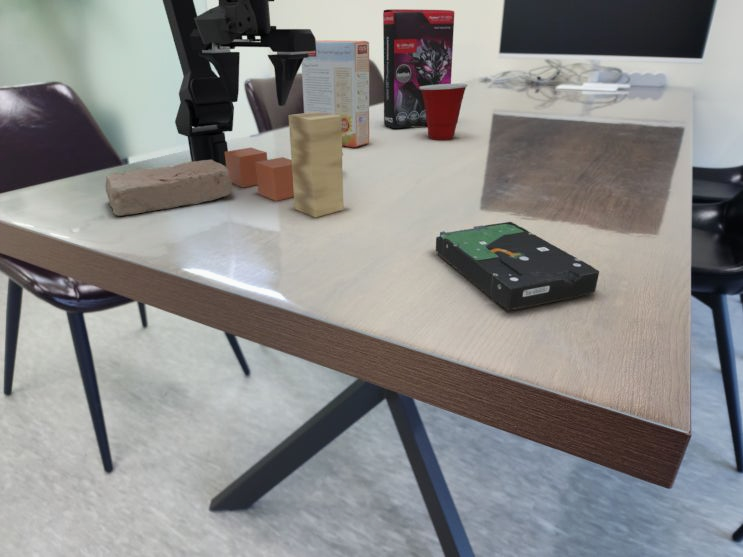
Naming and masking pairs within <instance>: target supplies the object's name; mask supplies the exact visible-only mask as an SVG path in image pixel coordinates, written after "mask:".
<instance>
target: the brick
mask: <svg viewBox="0 0 743 557" xmlns="http://www.w3.org/2000/svg"><path fill="white" fill-rule="evenodd" d="M104 185H105V192H106V196H107V198H108V203H109V207H110V208H111V209H112V213H113V214H114V215H115V216H119V217H120V216H122V217H123V216H129V215H136V214H139V213H146V212H153V211H160V210H168V209H169V210H170V209H173V208H178V207H180V206H189V205H191V206H192V205H198V204H202V203H206V202H210V201H214V200H218V199H221V198H223V197H227V196H229V195H230V194H232V190H233V187H232V186H233V183H231V177H230V176H229V170H228V169H227V168H226V167H225V166H224V165H222V164H220V163H217V162H215V161H213V160H202V161H195V162H191V161H189V162H183V163H180V164H176V165H173V166H165V167H164V166H163V167H154V168H143V169H133V170H129V171H122V172H118V173H110V174H107V175H106V176H105V183H104Z"/></svg>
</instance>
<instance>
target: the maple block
mask: <svg viewBox="0 0 743 557" xmlns="http://www.w3.org/2000/svg"><path fill="white" fill-rule="evenodd" d="M288 129H289V130H288V131H289V142H290V143H289V144H290V145H289V146H290V158H291V159H290V160H292V174H293V189H294V197H293V200H294V201H293V202H294V210H297V211H299V212H301V213H304V214H306V215H308V216H311V217H313V218H316V219H317V218H319V217H322V216H326V215H327V216H328V215H330V214H333V213H337V212H341V211H344V179H343V178H344V176H343V175H344V174H343V170H344V169H343V156H342V152H343V146H342V126H341V116H340V115H335V114H330V113H324V112H319V111H318V112H310V113H304V112H302V113H293V114H288Z"/></svg>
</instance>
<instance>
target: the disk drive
mask: <svg viewBox="0 0 743 557" xmlns="http://www.w3.org/2000/svg"><path fill="white" fill-rule="evenodd" d="M435 252H436V253H437V254H438V255H439V256H440V257H441V258H442V259H444V260H445V261H446V262H447V263H449V265H451V266H452V267H453V268H454V269H456V270H457V271H458V272H459V273H460V274H462V275H463V276H465V277H466V278H467V279H468V280H469V281H470V282H472V283H473V284H474V285H475V286H477V287H478V288H479V289H480V290H481V291H482V292H484V293H485V294H486V295H488V296H489V297H490V299H492V300H494V301H495V302H497V303H498V305H501V306H502V307H504V308H505V309H506V310H508V311H509V310H517V309H524V308H529V307H534V306H538V305H542V304H543V305H544V304H549V303H554V302H558V301H563V300H568V299H573V298H578V297H582V296H585V295H589V294H593V293H595V292H596V289H597V285H598V281H599V276H600V270H598V269H597V268H595V267H594V266H592V265H591V264H589V263H586V262H585V261H584V260H582V259H581V260H580V259H579V258H577V257H576V256H574V255H573V254H570V253H568V252H567V251H565V250H563V249H561V248H559V247H557V246H555V245H554V244H552V243H550V242H549V241H547V240H545V239H544V238H542V237H540V236H538V235H537V234H534V233H532V232H530V231H529V230H528V229H526V228H524V227H523V226H519V225H518V224H516V223H514V222H512V221H506V222H500V223H493V224H485V225H477V226H476V225H475V226H473V227H472V228H468V229H460V230H455V231H448V232H447V231H444V230H443V231H440V232H439V236H436V238H435Z"/></svg>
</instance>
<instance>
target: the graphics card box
mask: <svg viewBox="0 0 743 557" xmlns="http://www.w3.org/2000/svg"><path fill="white" fill-rule="evenodd" d="M455 13H456V12H455V10H452V9H451V10H450V9H414V8H413V9H412V8H411V9H404V8H403V9H401V8H400V9H397V8H394V9H393V8H391V9H384V10H383V12H382V26H383V27H382V29H383V31H382V32H383V40H382V41H383V125H384V126H385V127H389V128H390V129H391V128H392V129H404V128H412V127H414V128H415V127H422V126H423V127H424V126H427V120H426V112H425V103H424V98H423V94H422V91H421V89H420V87H421V86H427V85H438V84H452V72H453V71H452V69H453V53H454V52H453V50H454V29H455Z"/></svg>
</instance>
